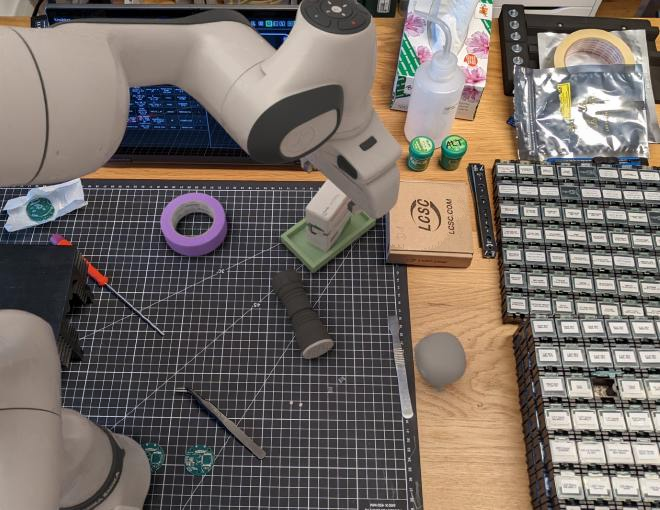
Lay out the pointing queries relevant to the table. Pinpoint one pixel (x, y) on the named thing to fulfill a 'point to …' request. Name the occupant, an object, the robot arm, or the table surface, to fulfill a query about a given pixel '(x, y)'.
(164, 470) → the table surface
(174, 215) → the tape roll
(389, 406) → the table surface
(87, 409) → the table surface
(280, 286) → the flashlight
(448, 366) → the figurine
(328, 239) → the ink box
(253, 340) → the table surface
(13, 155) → the robot arm
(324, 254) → the tray
